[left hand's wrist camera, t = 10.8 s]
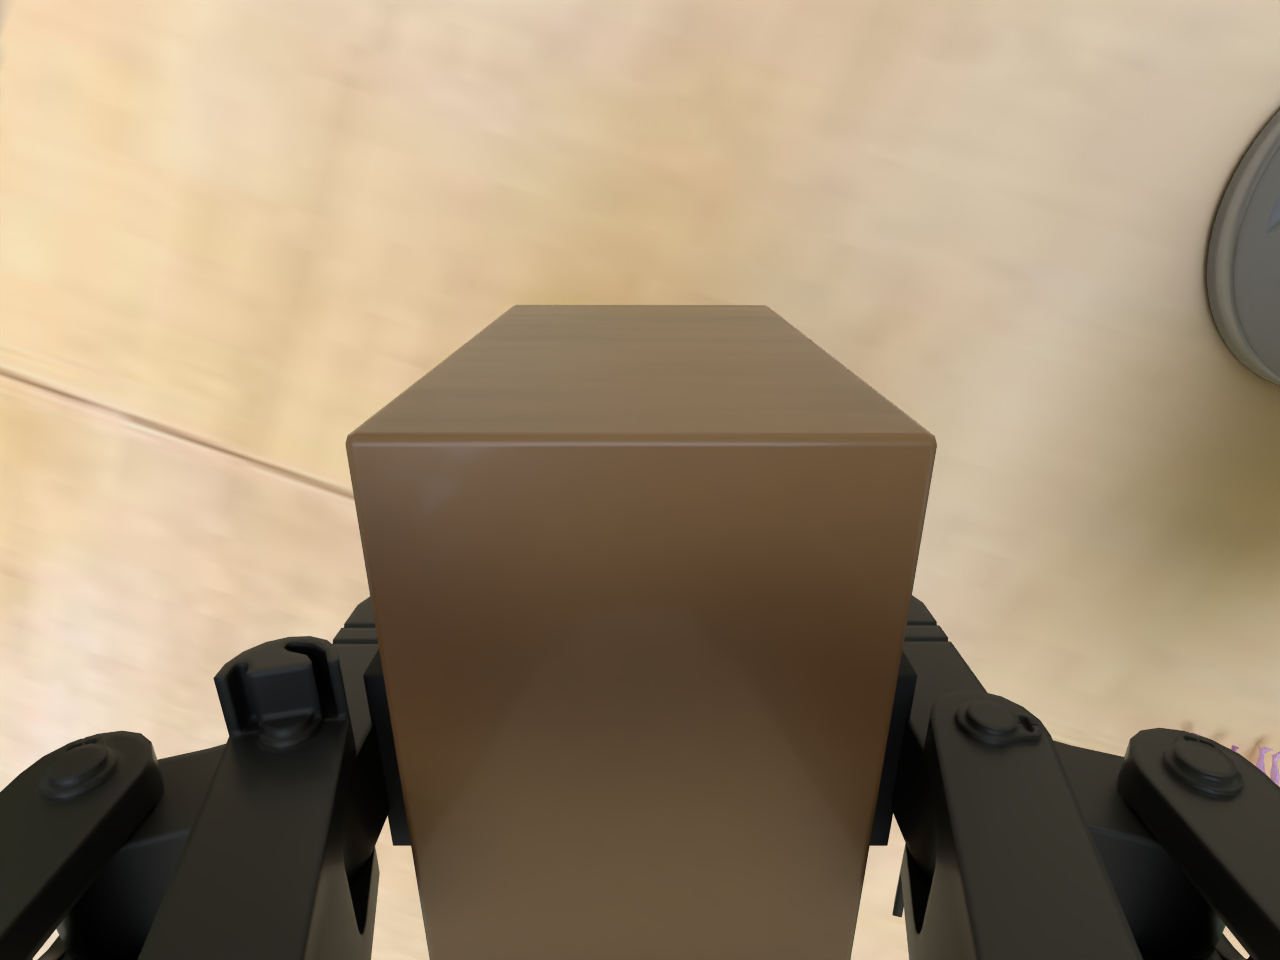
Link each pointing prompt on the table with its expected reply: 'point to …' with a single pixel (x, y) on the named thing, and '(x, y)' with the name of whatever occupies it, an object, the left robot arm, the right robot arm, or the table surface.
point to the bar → (640, 631)
